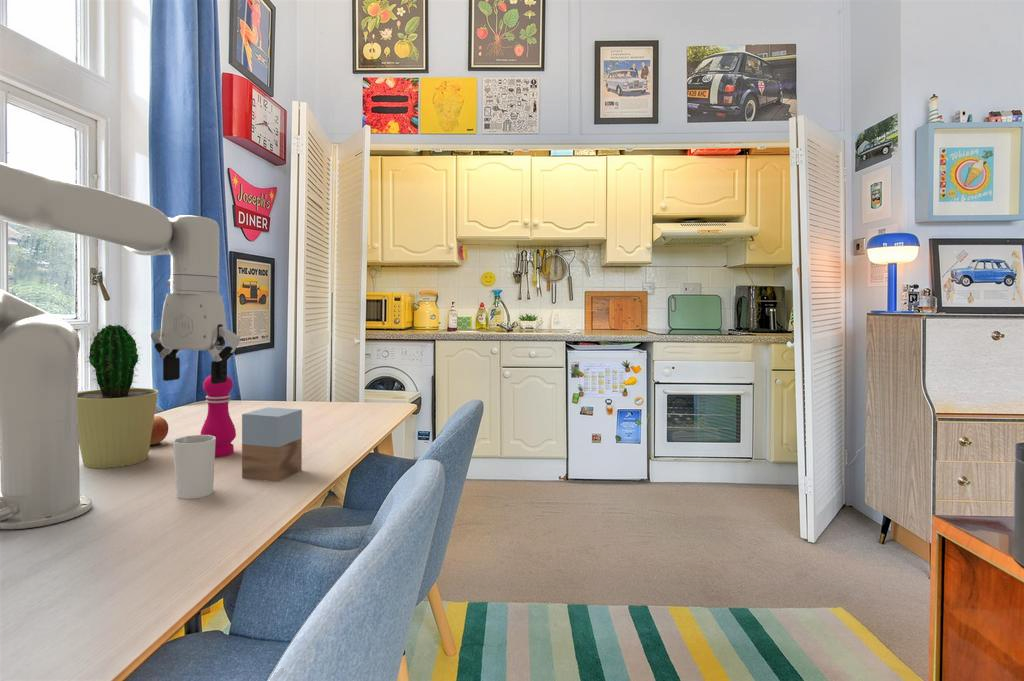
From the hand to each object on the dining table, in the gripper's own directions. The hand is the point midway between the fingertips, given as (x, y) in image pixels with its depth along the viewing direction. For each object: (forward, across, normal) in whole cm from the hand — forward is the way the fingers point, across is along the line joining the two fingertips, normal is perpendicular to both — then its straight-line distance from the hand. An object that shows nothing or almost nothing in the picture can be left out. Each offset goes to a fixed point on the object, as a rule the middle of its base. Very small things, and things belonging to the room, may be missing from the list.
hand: (195, 381), depth 99 cm
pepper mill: (+20, -14, +24) cm, 34 cm away
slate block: (+13, +7, +13) cm, 20 cm away
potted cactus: (+21, -30, +13) cm, 39 cm away
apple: (+21, -35, +26) cm, 48 cm away
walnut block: (+20, +7, +13) cm, 25 cm away
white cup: (+21, +1, -1) cm, 21 cm away
